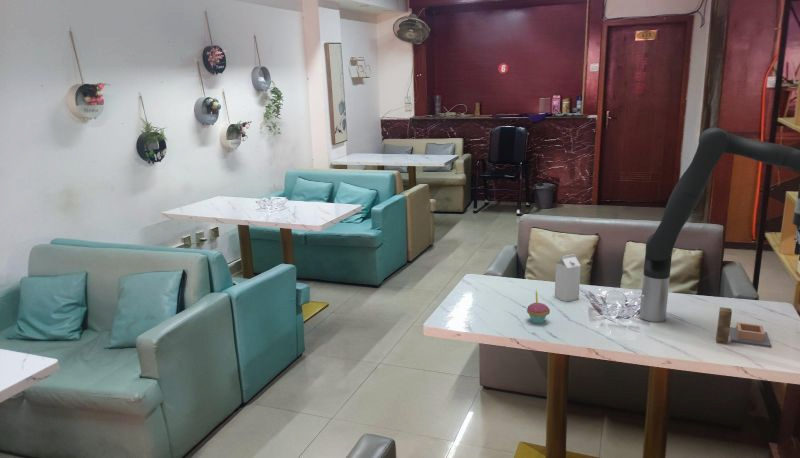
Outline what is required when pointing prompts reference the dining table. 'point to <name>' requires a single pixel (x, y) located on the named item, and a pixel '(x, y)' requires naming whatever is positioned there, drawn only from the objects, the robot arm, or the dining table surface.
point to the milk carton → (567, 278)
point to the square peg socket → (749, 335)
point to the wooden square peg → (723, 325)
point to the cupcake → (538, 311)
